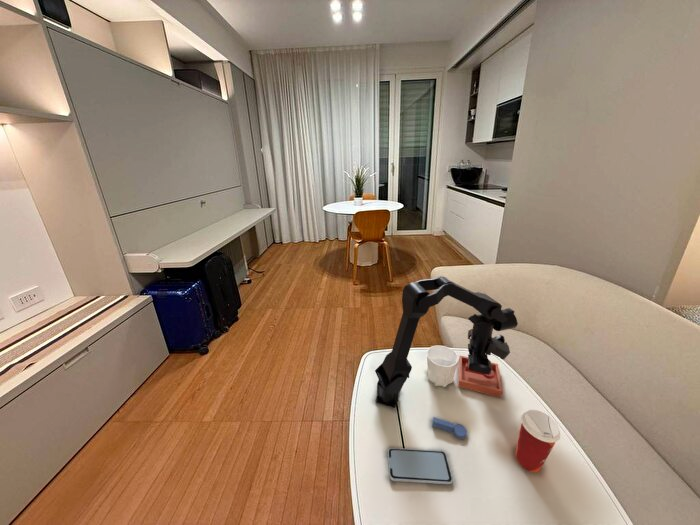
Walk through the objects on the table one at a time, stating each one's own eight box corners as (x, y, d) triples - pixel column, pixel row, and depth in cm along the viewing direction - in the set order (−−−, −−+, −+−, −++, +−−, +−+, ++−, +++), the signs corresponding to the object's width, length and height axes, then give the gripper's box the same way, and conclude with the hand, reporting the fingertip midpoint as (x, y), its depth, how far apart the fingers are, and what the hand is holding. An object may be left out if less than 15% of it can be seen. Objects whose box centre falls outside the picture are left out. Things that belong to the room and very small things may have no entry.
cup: (425, 386, 89) (427, 364, 85) (424, 365, 98) (426, 343, 94) (456, 391, 87) (460, 368, 83) (452, 369, 96) (456, 347, 92)
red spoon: (465, 373, 91) (466, 368, 90) (465, 365, 94) (466, 361, 93) (494, 380, 88) (495, 375, 87) (493, 372, 91) (494, 367, 90)
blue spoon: (431, 430, 75) (432, 424, 75) (433, 418, 78) (433, 413, 78) (466, 441, 72) (467, 435, 71) (466, 429, 75) (467, 423, 74)
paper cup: (552, 480, 63) (569, 441, 58) (516, 473, 65) (530, 435, 59) (537, 447, 70) (551, 409, 65) (506, 441, 72) (517, 404, 66)
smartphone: (453, 483, 63) (389, 479, 63) (453, 485, 63) (389, 481, 64) (445, 450, 69) (387, 447, 70) (444, 453, 70) (387, 449, 71)
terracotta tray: (458, 386, 89) (459, 380, 88) (458, 360, 100) (459, 355, 99) (500, 397, 84) (502, 391, 83) (496, 369, 95) (497, 363, 94)
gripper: (515, 357, 74) (504, 398, 80) (506, 320, 90) (498, 356, 96) (472, 348, 78) (465, 387, 84) (470, 314, 94) (464, 349, 100)
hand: (474, 369), depth 91 cm, fingers closed on red spoon, 1 cm apart
